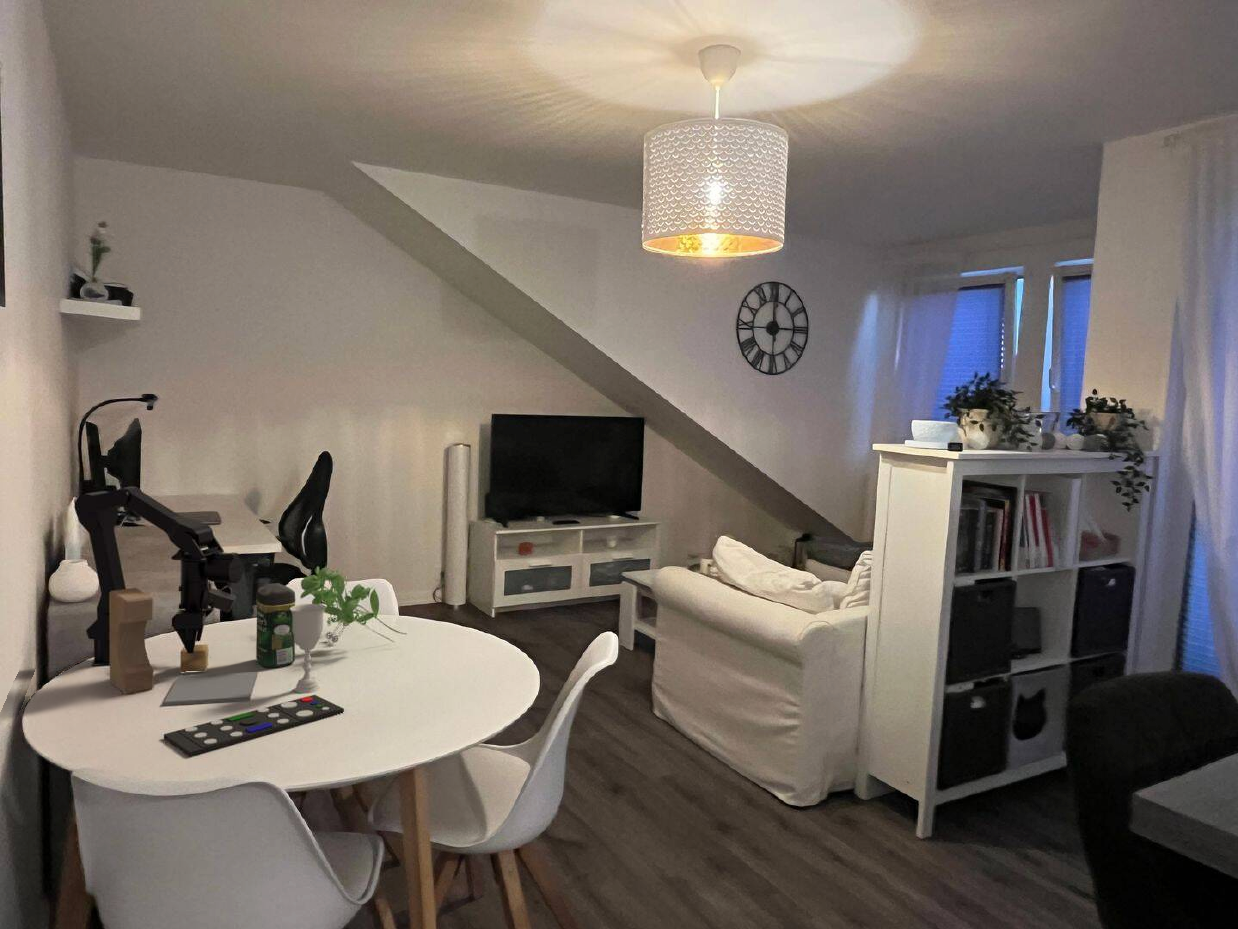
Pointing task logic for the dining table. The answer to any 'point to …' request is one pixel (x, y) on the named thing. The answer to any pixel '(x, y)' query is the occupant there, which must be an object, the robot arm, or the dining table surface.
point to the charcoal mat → (212, 688)
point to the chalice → (307, 639)
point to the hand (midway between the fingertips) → (194, 647)
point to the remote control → (251, 725)
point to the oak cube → (194, 659)
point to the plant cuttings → (340, 599)
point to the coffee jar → (275, 625)
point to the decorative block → (130, 640)
